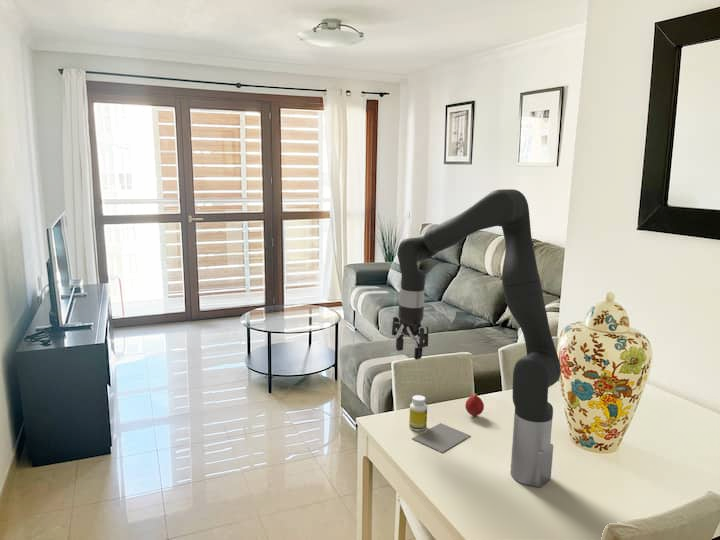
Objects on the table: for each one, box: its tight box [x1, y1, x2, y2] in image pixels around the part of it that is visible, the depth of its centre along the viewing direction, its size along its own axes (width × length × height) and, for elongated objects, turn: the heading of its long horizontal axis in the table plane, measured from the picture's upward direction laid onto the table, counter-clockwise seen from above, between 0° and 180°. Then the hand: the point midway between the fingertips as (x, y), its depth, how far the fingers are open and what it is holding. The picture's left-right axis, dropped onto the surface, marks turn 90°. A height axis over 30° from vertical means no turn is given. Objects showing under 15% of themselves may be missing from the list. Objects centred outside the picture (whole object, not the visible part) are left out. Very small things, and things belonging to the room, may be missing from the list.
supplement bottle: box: [408, 394, 428, 432], centre depth 161 cm, size 5×5×10 cm
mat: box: [411, 422, 471, 454], centre depth 156 cm, size 11×14×1 cm
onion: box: [465, 393, 485, 418], centre depth 169 cm, size 6×6×8 cm
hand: (408, 354), depth 161 cm, fingers open, 8 cm apart
